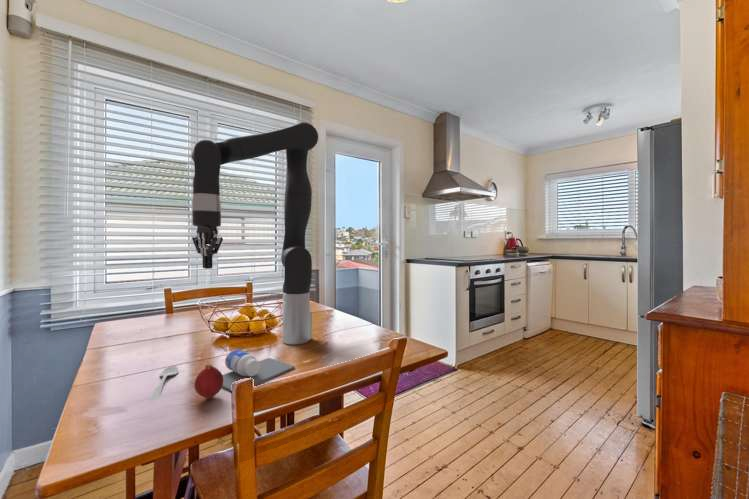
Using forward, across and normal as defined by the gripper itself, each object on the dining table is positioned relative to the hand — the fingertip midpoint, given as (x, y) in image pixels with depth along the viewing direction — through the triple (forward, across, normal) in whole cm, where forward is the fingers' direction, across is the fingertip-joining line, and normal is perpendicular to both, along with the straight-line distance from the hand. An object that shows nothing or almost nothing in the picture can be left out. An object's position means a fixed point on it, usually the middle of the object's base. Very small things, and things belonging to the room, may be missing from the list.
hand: (207, 268), depth 97 cm
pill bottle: (+24, -15, +2) cm, 28 cm away
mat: (+27, -22, 0) cm, 35 cm away
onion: (+27, -24, +14) cm, 39 cm away
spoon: (+28, -9, +17) cm, 33 cm away
